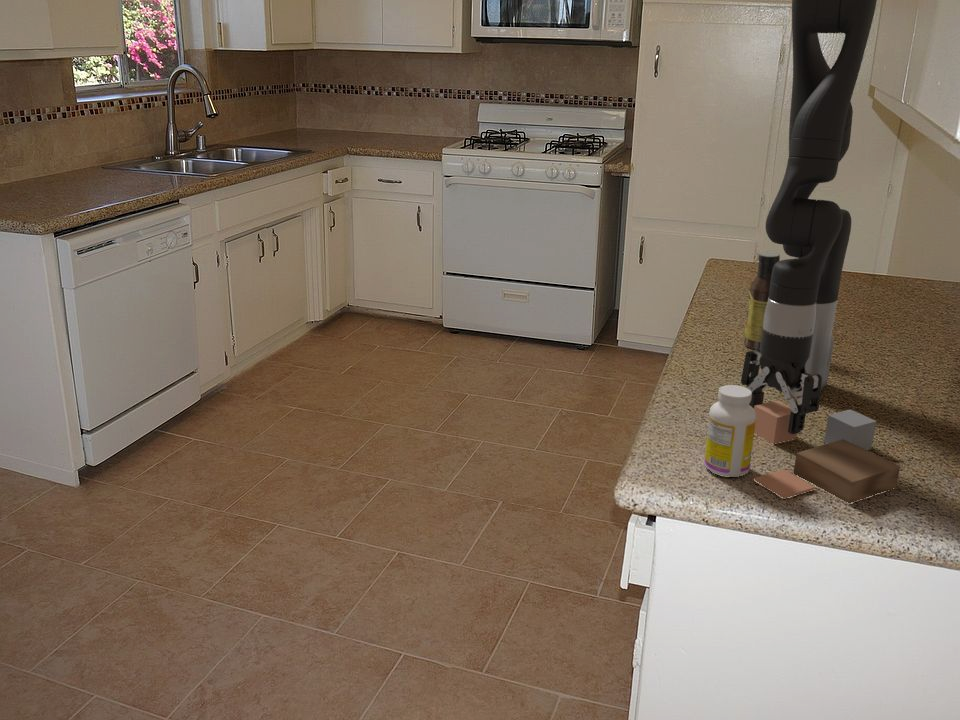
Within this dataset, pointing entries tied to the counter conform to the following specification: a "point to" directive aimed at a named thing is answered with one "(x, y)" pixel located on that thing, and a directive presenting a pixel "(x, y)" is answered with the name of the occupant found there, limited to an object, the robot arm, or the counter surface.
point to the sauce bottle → (759, 299)
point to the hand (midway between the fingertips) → (773, 422)
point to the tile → (784, 483)
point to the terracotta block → (773, 422)
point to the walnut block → (846, 470)
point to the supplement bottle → (730, 432)
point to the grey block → (850, 428)
